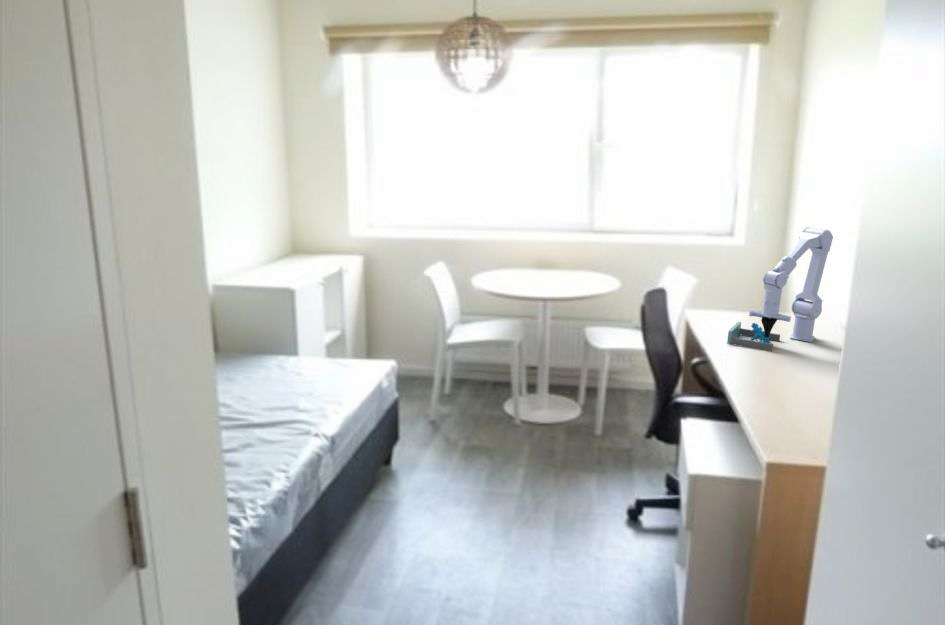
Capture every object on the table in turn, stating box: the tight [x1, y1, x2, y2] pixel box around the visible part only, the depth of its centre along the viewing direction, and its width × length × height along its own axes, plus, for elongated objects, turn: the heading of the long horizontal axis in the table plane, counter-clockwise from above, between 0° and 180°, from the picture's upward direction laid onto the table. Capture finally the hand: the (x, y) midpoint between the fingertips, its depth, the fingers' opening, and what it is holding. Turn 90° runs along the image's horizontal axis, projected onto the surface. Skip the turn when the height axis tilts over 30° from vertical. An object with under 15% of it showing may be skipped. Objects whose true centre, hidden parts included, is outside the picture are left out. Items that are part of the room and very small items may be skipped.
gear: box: [749, 322, 771, 344], centre depth 269 cm, size 11×6×10 cm
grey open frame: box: [726, 321, 781, 352], centre depth 269 cm, size 18×16×5 cm
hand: (766, 336), depth 267 cm, fingers closed
